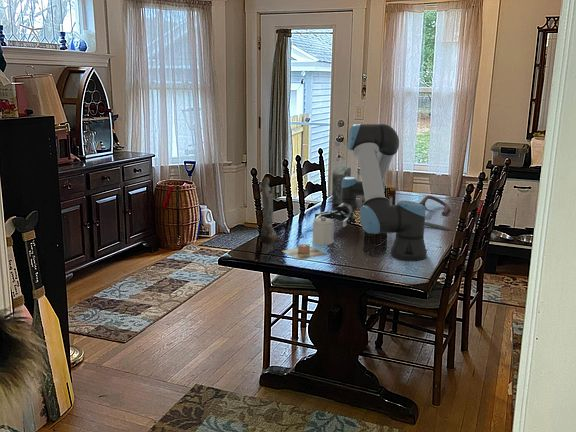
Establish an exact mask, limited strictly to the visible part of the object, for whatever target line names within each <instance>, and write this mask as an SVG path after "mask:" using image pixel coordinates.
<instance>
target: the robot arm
mask: <svg viewBox="0 0 576 432" xmlns="http://www.w3.org/2000/svg"><path fill="white" fill-rule="evenodd" d="M399 147H400V138H399V135H398V133H397V131H396V130H395V129H394V128H393V127H392V126H390V125H389V124H386V123H367V124H364V123H363V124H361V123H358V124H357V123H356V124H352V125H351V126H350V128H349V130H348V135H347V149H348V150H349V151H352V153H353V156H355V157H356V158H357V160H358V167H359V168H358V169H359V173H360V178H361V179H360V180H358V179H357V177H355V176H351V177H345V178H343V179H342V186H341V187H342V197H341V204H340V205H338V206H336V207H335V208H334V209H333V211H330V210H325V211H320V212H317V213H314V219H316V218H321V217H326V218H329V219H332V220H334V219H335V220H338V221H340V222H341V221H342V227H343V228H344V227H346V226H347V225H350V224H351V223H352V224H355V223H356V216H354V213H355V212H356V211H357V210H358V206H359V205H358V202H357V197H358V196H365V202H364V203H363V206H362V205H361V207H360V209H359V220H360V221H359V222H360V225H361V228H362V229H363V231H364V232H366V233H367V234H376V235H377V234H393V233H394V234H395V238H394V241H393V244H392V246H391V249H390V256H391V257H393V258H395V259H398V260H401V261H410V262H411V261H414V262H415V261H422V260H425V259H426V258H427V255H428V251H427V248H426V244H425V239H424V238H425V236H424V235H425V227H426V226H425V222H426V217H427V216H426V209H425V207H426V206H425V207H424V206H423V205H422V204H419V203H420V202H416V201H412V200H411V201H410V200H398V201H397V203H396V204H395V205H391V204H390V200H389V199H388V198H386V197H385V193H384V192H385V184H386V183H385V182H384V180H385V178H386V175H387V172H388V169H389V167H390V164H391V162H392V159H393V157H394V156H395V155H396V154H397V152H398V150H399Z"/></svg>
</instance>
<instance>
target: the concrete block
mask: <svg viewBox="0 0 576 432" xmlns="http://www.w3.org/2000/svg"><path fill="white" fill-rule="evenodd" d="M351 170H352V168H351V167H348V166H339V167H336V169H334V170H333V171H332V176H331V177H332V181H331V182H332V184H331V185H332V186H331V187H332V188H331V204H334V205H338V206H339V205H340V204H341V197H342V187H341V186H342V179H343V178H345V177H352V176H351V174H352V171H351Z"/></svg>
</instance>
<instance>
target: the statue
mask: <svg viewBox="0 0 576 432" xmlns="http://www.w3.org/2000/svg"><path fill="white" fill-rule="evenodd" d="M269 184H270V178H269V177H264V179H263V181H262V188H261V189H262V190H261V194H262V198H261V199H262V206H263V216H262V217H263V218H262V219H263V220H262V225H261V230H260V238H259V242H261V243H266V244H270V243H276V242H277V241H279V239H278V238H279V237H278V235H277V233H276V231H275V230H274V228H273V221H274V220H273V215H274V201H273V200H274V192H273V189H271V188H270V186H269Z"/></svg>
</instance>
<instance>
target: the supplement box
mask: <svg viewBox="0 0 576 432" xmlns="http://www.w3.org/2000/svg"><path fill="white" fill-rule="evenodd" d="M385 186H386V187H389V188H390V204H391V205H396V197H397V196H396V193H397V187H395V186H393V185H389V184H387V183H385ZM361 201H362V202H361V207H362V206H363V203H364V202H365V196H362V199H361Z"/></svg>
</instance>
